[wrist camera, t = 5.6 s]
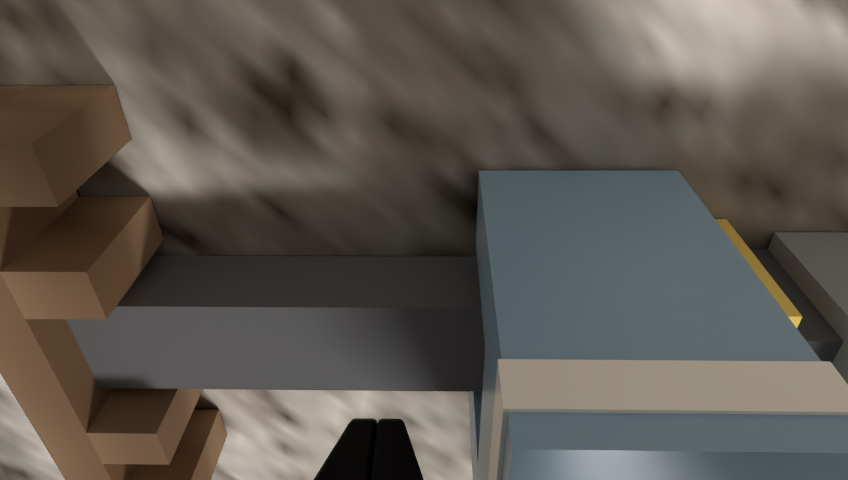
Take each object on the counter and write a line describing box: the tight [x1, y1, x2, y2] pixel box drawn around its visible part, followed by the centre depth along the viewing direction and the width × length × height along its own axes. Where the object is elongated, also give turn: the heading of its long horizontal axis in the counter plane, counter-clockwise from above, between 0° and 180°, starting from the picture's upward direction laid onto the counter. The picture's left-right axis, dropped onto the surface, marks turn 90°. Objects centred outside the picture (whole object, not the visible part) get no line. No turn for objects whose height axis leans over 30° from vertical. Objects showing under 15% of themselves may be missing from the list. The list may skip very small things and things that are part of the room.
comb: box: [0, 85, 227, 480], centre depth 12 cm, size 2×9×2 cm, turn 1°
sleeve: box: [469, 170, 848, 480], centre depth 10 cm, size 4×6×6 cm, turn 1°
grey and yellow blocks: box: [66, 219, 848, 391], centre depth 11 cm, size 16×4×4 cm, turn 91°
